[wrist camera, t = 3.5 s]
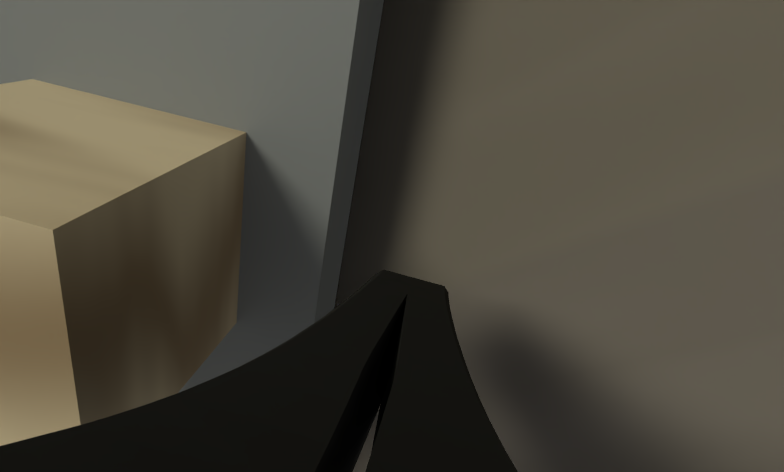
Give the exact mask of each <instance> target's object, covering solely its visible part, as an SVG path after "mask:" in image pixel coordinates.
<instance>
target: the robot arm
mask: <svg viewBox="0 0 784 472" xmlns="http://www.w3.org/2000/svg"><path fill="white" fill-rule="evenodd" d="M380 404H381V405H380ZM379 406H380V410H379V415H378V420H377V425H376V431H375V436H374V441H373V446H372V452H371V456H370V459H369V462H368V466H367V469H366V472H517V470H516V468H515V467H514V465H513V463H512V461H511V460H510V458H509V456H508V454H507V453H506V451H505V449H504V447H503V445H502V443H501V441H500V440H499V438H498V436H497V434H496V432H495V430H494V428H493V426H492V424H491V422H490V420H489V418H488V416H487V414H486V412H485V409H484V407H483V405H482V403H481V401H480V398H479V396H478V394H477V391H476V389H475V386H474V384H473V382H472V379H471V377H470V374H469V371H468V369H467V366H466V363H465V360H464V357H463V354H462V351H461V348H460V345H459V342H458V339H457V335H456V332H455V328H454V324H453V320H452V316H451V311H450V305H449V298H448V292H447V290H446V288H445V286H442V285H438V284H434V283H431V282H427V281H423V280H420V279H416V278H412V277H408V276H405V275H401V274H397V273H394V272H390V271H386V270H382V271H380V272H378V273H377V274H376V275H375V276H374V277H372V278H371V279H370V280H369V281H368V282H367V283H366V284H365V285H364V286H363V287H361V288H360V289H359V290H358V291H357V292H355V293H354V294H353V295H352V296H350V297H349V298H348V299H347V300H345V301H344V302H343V303H341V304H340V305H339V306H337V307H336V308H335V309H333V310H332V311H331V312H329V313H328V314H327V315H325V316H324V317H323V318H321V319H320V320H318V321H317V322H315V323H314V324H312V325H311V326H309V327H308V328H306V329H305V330H303V331H301V332H300V333H298V334H297V335H295V336H294V337H292V338H291V339H289V340H287V341H286V342H284V343H282V344H281V345H279V346H277V347H275V348H274V349H272V350H270V351H268V352H266V353H265V354H263V355H261V356H259V357H257V358H255V359H253V360H251V361H249V362H247V363H245V364H244V365H241V366H239V367H237V368H235V369H233V370H231V371H229V372H226V373H224V374H222V375H220V376H218V377H215V378H213V379H211V380H208V381H206V382H203V383H201V384H199V385H196V386H194V387H192V388H189V389H187V390H185V391H182V392H179V393H177V394H174V395H171V396H169V397H166V398H163V399H160V400H157V401H155V402H152V403H149V404H146V405H143V406H140V407H137V408H134V409H131V410H128V411H125V412H122V413H119V414H115V415H112V416H109V417H106V418H103V419H99V420H96V421H93V422H89V423H86V424H82V425H79V426H75V427H71V428H67V429H63V430H60V431H56V432H52V433H48V434H44V435H40V436H37V437H33V438H29V439H25V440H21V441H18V442H14V443H10V444H6V445H2V446H0V472H352V471H353V469H354V466H355V464H356V462H357V459H358V457H359V454H360V452H361V450H362V447H363V445H364V442H365V440H366V438H367V435H368V433H369V430H370V428H371V426H372V423H373V421H374V418H375V416H376V413H377V411H378V409H379Z"/></svg>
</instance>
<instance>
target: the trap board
mask: <svg viewBox="0 0 784 472" xmlns="http://www.w3.org/2000/svg"><path fill="white" fill-rule="evenodd" d="M383 3H384V0H0V84H5V83H11V82H17V81H23V80H29V79H34V80H38V81H42V82H46V83H50V84H54V85H58V86H62V87H67V88H71V89H75V90H79V91H83V92H87V93H91V94H95V95H99V96H103V97H107V98H111V99H115V100H119V101H123V102H127V103H131V104H135V105H139V106H143V107H147V108H151V109H155V110H159V111H163V112H167V113H171V114H175V115H179V116H183V117H187V118H191V119H195V120H199V121H203V122H207V123H211V124H215V125H219V126H223V127H227V128H231V129H235V130H239V131H243V132H246V150H245V169H244V188H243V208H242V227H241V246H240V266H239V285H238V304H237V323H236V324H235V325H234V326H233V328H232V329H231V330H230V331H229V332H228V334H227V335H226V336H225V337H224V338H223V340H222V341H221V342H220V343H219V344H218V346H217V347H216V348H215V349H214V350H213V352H212V353H211V354H210V355H209V356H208V358H207V359H206V360H205V361H204V362H203V364H202V365H201V366H200V367H199V368H198V370H197V371H196V372H195V373H194V374H193V376H192V377H191V378H190V379H189V380H188V382H187V383H186V384H185V385H184V386H183V388H182V389H181V390H180V391H179V392H182V391H185V390H187V389H189V388H192V387H194V386H196V385H199V384H201V383H203V382H206V381H208V380H211V379H213V378H215V377H218V376H220V375H222V374H224V373H226V372H229V371H231V370H233V369H235V368H237V367H239V366H241V365H244V364H245V363H247V362H249V361H251V360H253V359H255V358H257V357H259V356H261V355H263V354H265V353H266V352H268V351H270V350H272V349H274V348H275V347H277V346H279V345H281V344H282V343H284V342H286V341H287V340H289V339H291V338H292V337H294V336H295V335H297V334H298V333H300V332H301V331H303V330H305V329H306V328H308V327H309V326H311V325H312V324H314V323H315V322H317V321H318V320H320V319H321V318H323V317H324V316H325V315H327V314H328V313H329V312H331V311H332V310H333V309H334V307H335V300H336V294H337V288H338V282H339V276H340V269H341V263H342V257H343V251H344V245H345V238H346V232H347V226H348V220H349V214H350V207H351V201H352V195H353V189H354V183H355V176H356V170H357V164H358V158H359V152H360V145H361V139H362V133H363V127H364V121H365V114H366V108H367V102H368V96H369V90H370V84H371V77H372V71H373V65H374V59H375V53H376V46H377V40H378V34H379V28H380V22H381V15H382V9H383ZM179 392H178V393H179Z"/></svg>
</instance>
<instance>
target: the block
mask: <svg viewBox="0 0 784 472" xmlns="http://www.w3.org/2000/svg"><path fill="white" fill-rule="evenodd" d="M245 150H246V132H243V131H239V130H235V129H231V128H227V127H223V126H219V125H215V124H211V123H207V122H203V121H199V120H195V119H191V118H187V117H183V116H179V115H175V114H171V113H167V112H163V111H159V110H155V109H151V108H147V107H143V106H139V105H135V104H131V103H127V102H123V101H119V100H115V99H111V98H107V97H103V96H99V95H95V94H91V93H87V92H83V91H79V90H75V89H71V88H67V87H62V86H58V85H54V84H50V83H46V82H42V81H38V80H34V79H29V80H23V81H17V82H11V83H5V84H0V446H2V445H6V444H10V443H14V442H18V441H21V440H25V439H29V438H33V437H37V436H40V435H44V434H48V433H52V432H56V431H60V430H63V429H67V428H71V427H75V426H79V425H82V424H86V423H89V422H93V421H96V420H99V419H103V418H106V417H109V416H112V415H115V414H119V413H122V412H125V411H128V410H131V409H134V408H137V407H140V406H143V405H146V404H149V403H152V402H155V401H157V400H160V399H163V398H166V397H169V396H171V395H174V394H177V393H178V392H179V391H180V390H181V389H182V388H183V386H184V385H185V384H186V383H187V382H188V380H189V379H190V378H191V377H192V376H193V374H194V373H195V372H196V371H197V370H198V368H199V367H200V366H201V365H202V364H203V362H204V361H205V360H206V359H207V358H208V356H209V355H210V354H211V353H212V352H213V350H214V349H215V348H216V347H217V346H218V344H219V343H220V342H221V341H222V340H223V338H224V337H225V336H226V335H227V334H228V332H229V331H230V330H231V329H232V328H233V326H234V325H235V324H236V323H237V304H238V285H239V266H240V246H241V227H242V208H243V188H244V169H245Z"/></svg>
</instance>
